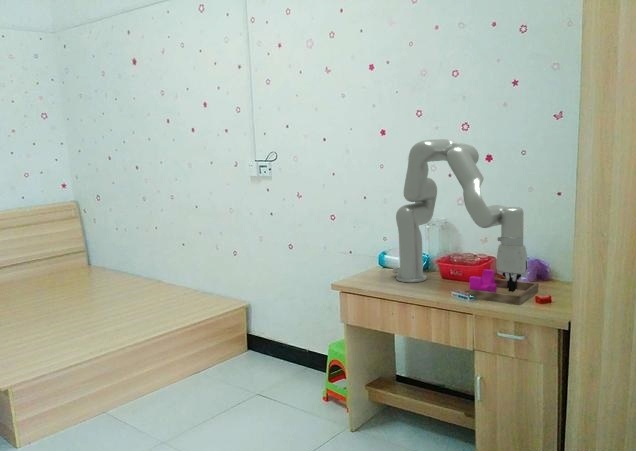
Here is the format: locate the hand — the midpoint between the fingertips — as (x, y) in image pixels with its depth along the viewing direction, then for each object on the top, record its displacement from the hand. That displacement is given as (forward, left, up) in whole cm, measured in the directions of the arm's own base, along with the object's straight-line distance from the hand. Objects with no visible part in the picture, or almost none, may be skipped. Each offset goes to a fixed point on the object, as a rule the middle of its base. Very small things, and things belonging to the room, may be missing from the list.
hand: (512, 290), depth 203 cm
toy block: (-10, -1, -2) cm, 10 cm away
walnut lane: (-3, 0, -2) cm, 3 cm away
